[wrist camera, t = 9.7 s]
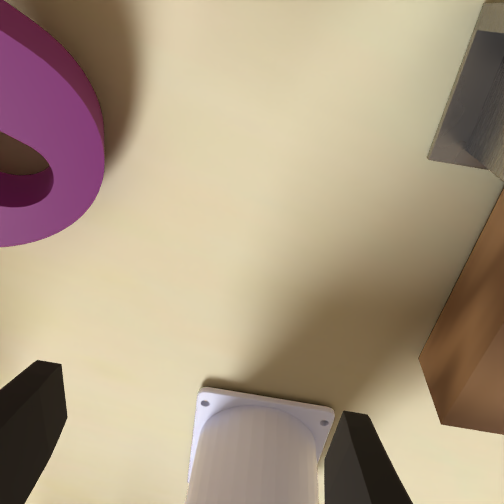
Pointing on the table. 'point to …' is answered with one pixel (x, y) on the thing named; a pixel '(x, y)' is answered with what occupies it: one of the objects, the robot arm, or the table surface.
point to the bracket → (476, 101)
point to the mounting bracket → (46, 132)
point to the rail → (472, 339)
